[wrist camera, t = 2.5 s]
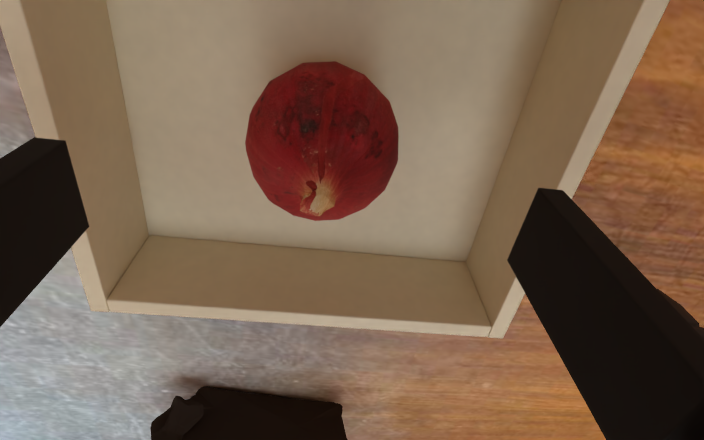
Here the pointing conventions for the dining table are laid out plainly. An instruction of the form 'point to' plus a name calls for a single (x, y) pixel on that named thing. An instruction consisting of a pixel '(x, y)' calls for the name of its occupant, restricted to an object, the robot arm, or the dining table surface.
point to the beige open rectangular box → (272, 221)
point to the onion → (322, 141)
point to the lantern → (248, 418)
